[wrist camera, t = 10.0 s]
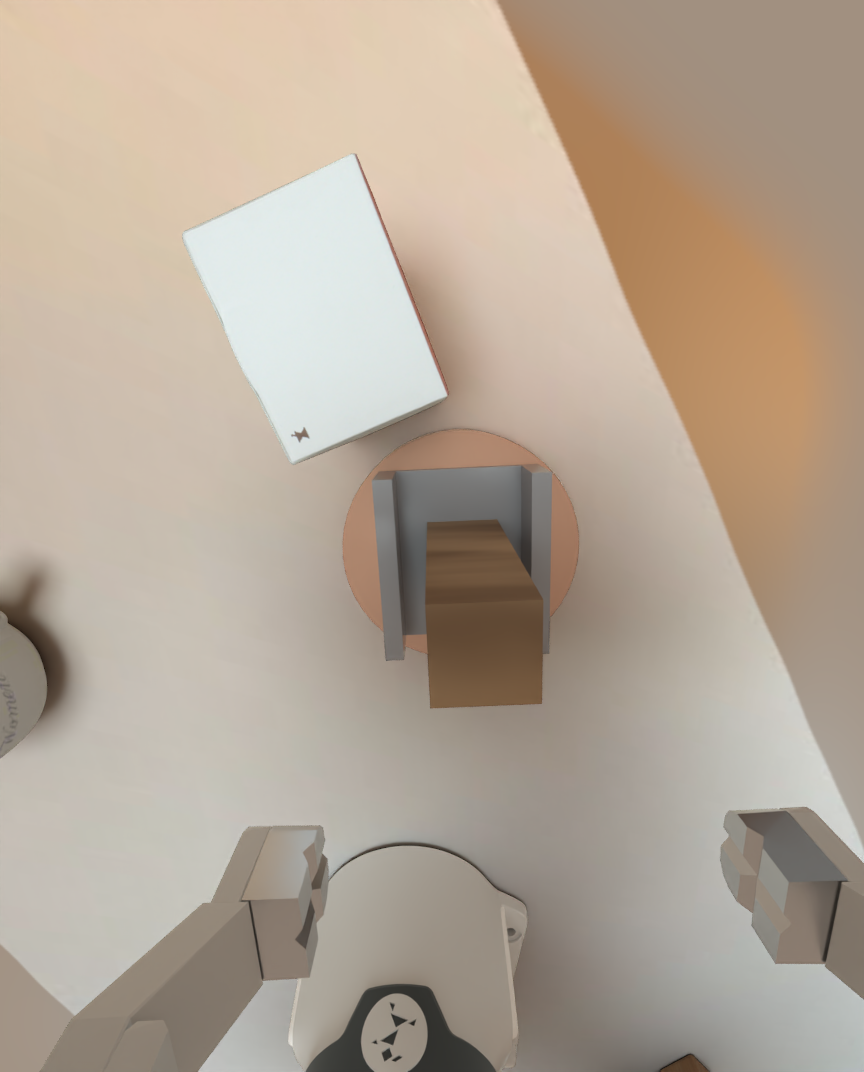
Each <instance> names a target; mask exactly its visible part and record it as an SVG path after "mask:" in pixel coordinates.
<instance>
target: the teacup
mask: <svg viewBox="0 0 864 1072" xmlns="http://www.w3.org/2000/svg"><path fill="white" fill-rule="evenodd" d="M7 621H8V619H7V616H6V615H5V614H4V613H3V612H1V611H0V758H2V757H3V756H4V755H5V754H7V753H8V752H9V751H10V750H11V749H12V748H14V747H15V746H16V745H17V744H18V743H19V742H20V741H21V740H22V739H24V737H25V736H26V735H27V734H28V733H29V732H30V731H31V730H32V728H33V727H34V726H35V724H36V723H37V721H38V720H39V718H40V716H41V713H42V711H43V709H44V705H45V702H46V696H47V679H46V675H45V670H44V667H43V663H42V660H41V658H40V655H39V653H38V651H37V650H36V648H35V647H34V645H33V644H32V642H31V641H30V640H29V639H28V638H27V637H26V636H25V635H24V634H23V633H22V632H20V631H19V630H18V629H16V628H15V627H13V626H11V625H10V624H8V623H7Z"/></svg>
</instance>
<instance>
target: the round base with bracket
mask: <svg viewBox="0 0 864 1072" xmlns="http://www.w3.org/2000/svg"><path fill="white" fill-rule="evenodd" d="M492 519H497V520H498V522H499V524H500V525H501V527H502V529H503V531H504V532H505V534H506V536H507V538H508V539H509V541H510V543H511V544H512V546H513V548H514V550H515V551H516V553H517V555H518V557H519V558H520V560H521V562H522V563H523V565H524V567H525V569H526V570H527V572H528V574H529V576H530V577H531V579H532V581H533V583H534V584H535V586H536V588H537V589H538V591H539V593H540V595H541V596H542V598H543V654H549V633H550V617H551V616H552V615H553V614H554V612H555V611H556V610H557V608H558V607H559V605H560V604H561V603H562V601H563V599H564V597H565V595H566V593H567V592H568V590H569V587H570V585H571V582H572V580H573V577H574V574H575V569H576V565H577V561H578V551H579V534H578V527H577V521H576V516H575V513H574V510H573V507H572V504H571V501H570V499H569V497H568V495H567V493H566V491H565V489H564V487H563V486H562V484H561V483H560V481H559V480H558V478H557V477H556V476H555V474H554V473H553V472H552V471H551V470H550V469H549V468H548V467H547V466H546V464H544V463H543V462H542V461H541V460H540V459H538V458H537V457H536V456H535V455H534V454H532V453H531V452H529V451H528V450H526V449H524V448H523V447H521V446H520V445H517V444H515V443H513V442H511V441H509V440H507V439H504V438H502V437H500V436H497V435H494V434H490V433H487V432H482V431H476V430H467V429H453V430H444V431H438V432H434V433H430V434H426V435H423V436H420V437H418V438H415V439H413V440H411V441H409V442H407V443H405V444H404V445H402V446H400V447H398V448H397V449H395V450H394V451H393V452H392V453H390V454H389V455H388V456H386V457H385V458H384V459H383V460H382V461H381V462H380V463H379V464H378V465H377V466H376V467H375V468H374V469H373V471H372V472H371V473H370V474H369V476H368V477H367V478H366V480H365V481H364V482H363V483H362V485H361V486H360V488H359V490H358V492H357V493H356V495H355V497H354V499H353V501H352V504H351V506H350V509H349V511H348V514H347V518H346V522H345V526H344V534H343V560H344V566H345V572H346V575H347V578H348V582H349V585H350V587H351V589H352V592H353V594H354V596H355V598H356V600H357V601H358V603H359V604H360V606H361V608H362V609H363V611H364V612H365V613H366V614H367V616H368V617H369V618H370V619H371V620H372V622H373V623H374V624H376V625H377V626H378V627H379V628H380V629H381V630H382V631H383V632H384V643H385V656H386V661H390V660H404V655H405V646H407V647H409V648H412V649H414V650H417V651H419V652H422V653H426V654H428V652H427V632H426V613H425V589H426V549H427V522H446V521H469V520H492Z"/></svg>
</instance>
